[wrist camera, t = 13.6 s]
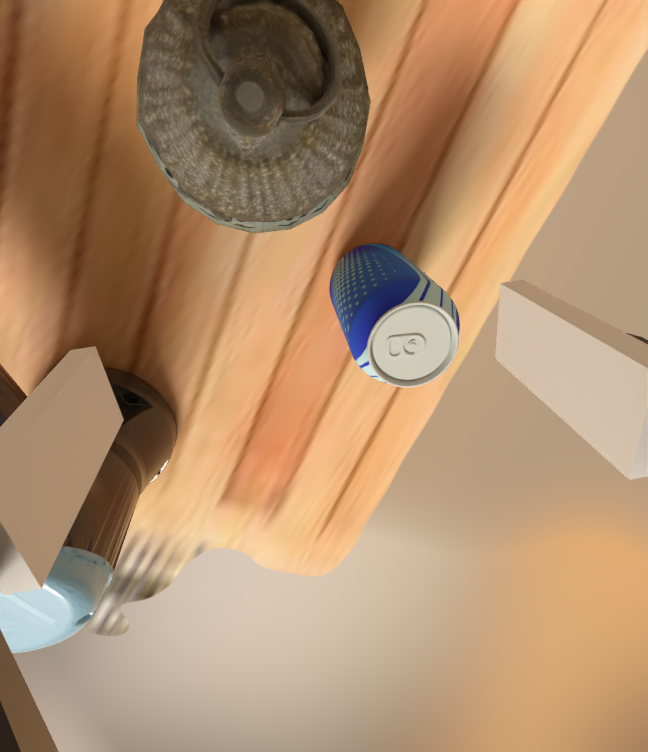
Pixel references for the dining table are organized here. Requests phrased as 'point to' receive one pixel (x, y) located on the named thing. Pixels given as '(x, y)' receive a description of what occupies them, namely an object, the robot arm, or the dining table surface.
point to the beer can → (394, 316)
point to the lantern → (253, 107)
